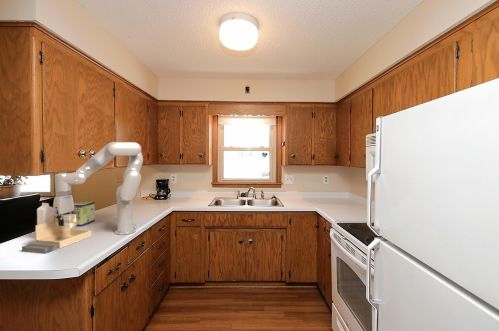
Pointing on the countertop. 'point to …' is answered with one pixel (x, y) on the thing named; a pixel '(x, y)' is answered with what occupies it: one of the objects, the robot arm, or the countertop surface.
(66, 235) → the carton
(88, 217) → the protein box
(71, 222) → the block
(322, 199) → the countertop surface
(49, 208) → the milk
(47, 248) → the block
